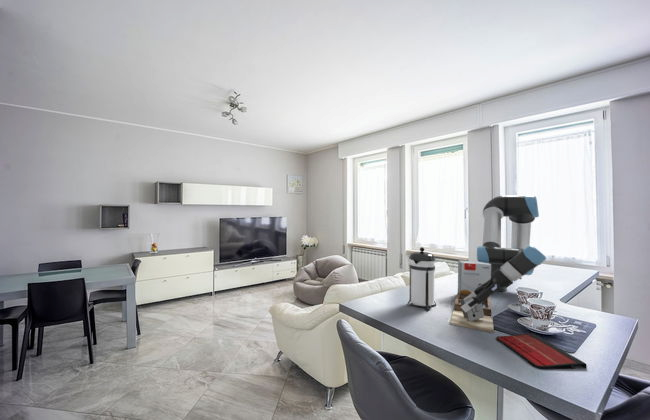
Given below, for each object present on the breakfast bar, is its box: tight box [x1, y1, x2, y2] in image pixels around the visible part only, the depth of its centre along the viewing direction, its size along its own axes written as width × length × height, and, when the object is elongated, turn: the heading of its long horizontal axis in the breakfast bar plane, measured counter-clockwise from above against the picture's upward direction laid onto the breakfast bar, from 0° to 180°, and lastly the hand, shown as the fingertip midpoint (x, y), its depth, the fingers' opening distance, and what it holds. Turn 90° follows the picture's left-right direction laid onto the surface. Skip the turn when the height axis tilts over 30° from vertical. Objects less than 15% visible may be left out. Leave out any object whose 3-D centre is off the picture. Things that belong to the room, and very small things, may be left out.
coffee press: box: [406, 247, 437, 311], centre depth 141 cm, size 17×16×30 cm
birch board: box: [449, 310, 495, 334], centre depth 120 cm, size 16×16×1 cm
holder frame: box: [454, 291, 492, 317], centre depth 139 cm, size 21×15×4 cm
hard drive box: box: [457, 259, 491, 298], centre depth 154 cm, size 16×8×20 cm, turn 73°
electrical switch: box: [459, 296, 484, 321], centre depth 121 cm, size 9×5×9 cm, turn 115°
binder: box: [495, 332, 588, 370], centre depth 95 cm, size 16×2×21 cm
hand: (463, 306), depth 122 cm, fingers open, 9 cm apart
